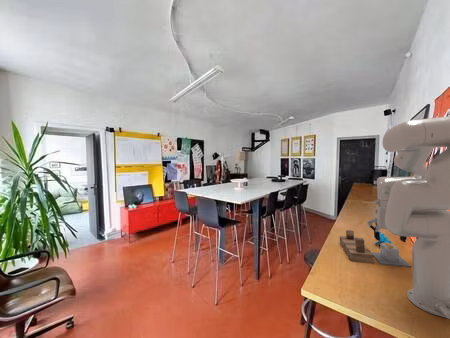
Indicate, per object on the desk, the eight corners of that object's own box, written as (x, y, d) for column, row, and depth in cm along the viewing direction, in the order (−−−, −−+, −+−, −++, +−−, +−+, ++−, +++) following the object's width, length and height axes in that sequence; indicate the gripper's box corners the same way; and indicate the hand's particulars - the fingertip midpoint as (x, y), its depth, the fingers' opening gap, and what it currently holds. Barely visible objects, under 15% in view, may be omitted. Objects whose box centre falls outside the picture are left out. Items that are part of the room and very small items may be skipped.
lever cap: (399, 262, 90) (398, 247, 89) (386, 261, 91) (385, 246, 91) (392, 256, 95) (392, 242, 95) (380, 255, 97) (380, 241, 97)
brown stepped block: (373, 263, 91) (372, 241, 91) (351, 261, 94) (350, 240, 93) (357, 243, 112) (357, 226, 112) (339, 242, 115) (339, 225, 114)
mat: (410, 267, 86) (410, 265, 86) (380, 264, 90) (380, 263, 90) (397, 255, 97) (397, 254, 97) (371, 253, 100) (371, 252, 100)
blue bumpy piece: (389, 248, 101) (373, 230, 107) (379, 253, 104) (364, 236, 111) (397, 245, 107) (382, 229, 113) (388, 250, 110) (373, 234, 116)
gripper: (369, 204, 91) (371, 242, 91) (416, 205, 86) (418, 244, 86) (363, 202, 98) (365, 236, 98) (406, 202, 93) (408, 239, 93)
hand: (390, 240), depth 92 cm, fingers open, 9 cm apart
